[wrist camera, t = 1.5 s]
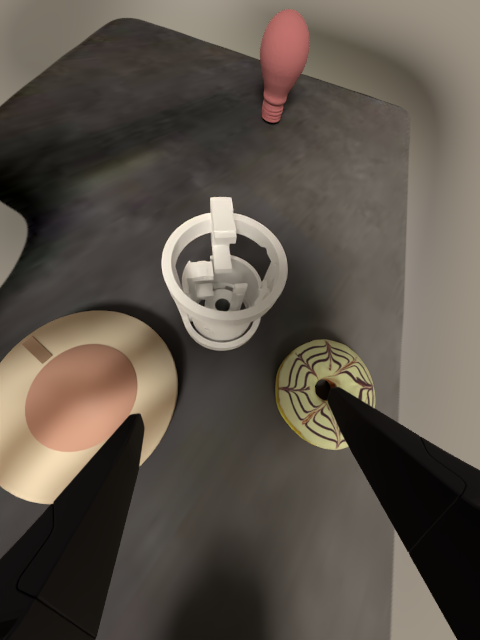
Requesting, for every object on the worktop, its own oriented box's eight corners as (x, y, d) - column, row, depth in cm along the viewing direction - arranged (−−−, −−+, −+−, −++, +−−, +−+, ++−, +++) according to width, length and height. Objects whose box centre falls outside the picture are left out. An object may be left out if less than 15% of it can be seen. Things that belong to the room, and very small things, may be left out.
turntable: (211, 379, 21) (211, 379, 20) (74, 548, 16) (64, 559, 15) (101, 286, 23) (95, 281, 22) (-54, 410, 18) (-70, 411, 17)
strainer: (245, 300, 26) (280, 195, 12) (253, 355, 24) (309, 305, 10) (188, 304, 25) (155, 195, 11) (191, 363, 23) (156, 318, 9)
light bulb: (271, 139, 37) (295, 29, 26) (243, 117, 38) (255, 3, 27) (295, 125, 39) (328, 18, 28) (268, 105, 41) (289, -6, 29)
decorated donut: (376, 390, 25) (403, 390, 21) (323, 466, 22) (344, 481, 18) (311, 327, 26) (327, 318, 23) (252, 389, 23) (260, 389, 20)
